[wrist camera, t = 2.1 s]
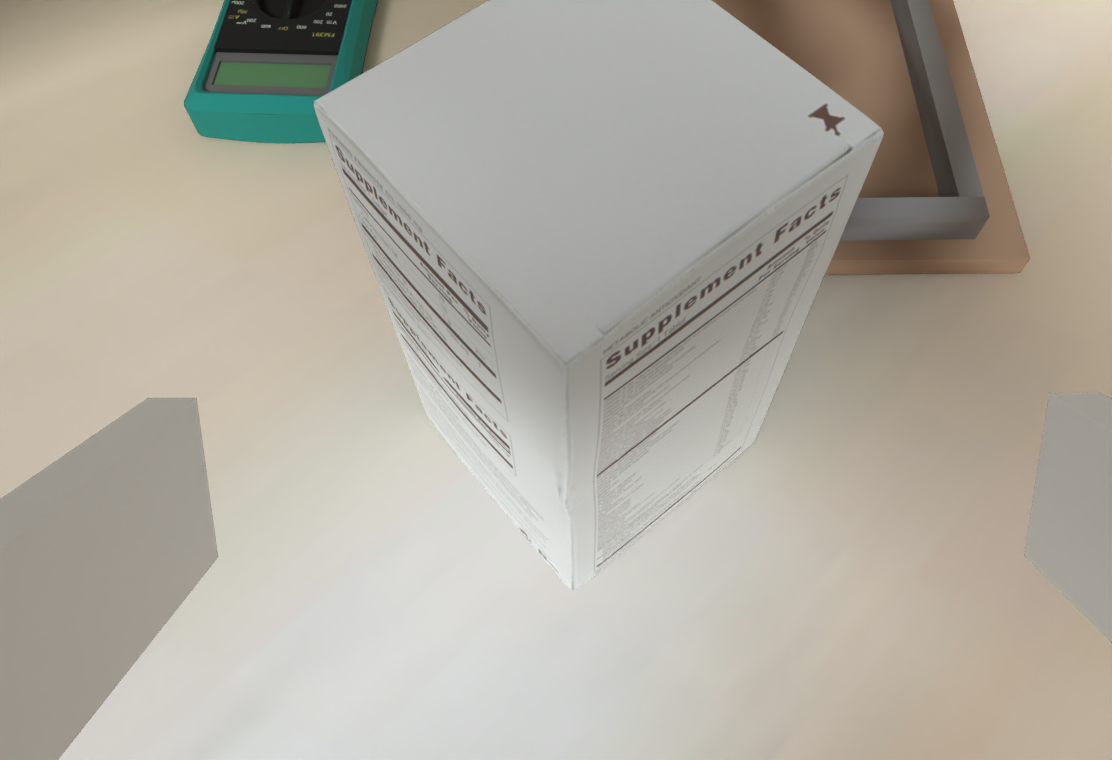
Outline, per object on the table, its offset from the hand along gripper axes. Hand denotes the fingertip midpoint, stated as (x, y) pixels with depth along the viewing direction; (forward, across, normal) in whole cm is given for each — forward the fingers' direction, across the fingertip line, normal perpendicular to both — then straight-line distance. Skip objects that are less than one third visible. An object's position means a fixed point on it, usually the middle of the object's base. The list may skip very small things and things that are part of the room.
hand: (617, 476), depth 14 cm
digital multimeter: (+35, -14, +9) cm, 39 cm away
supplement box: (+20, 0, -6) cm, 21 cm away
